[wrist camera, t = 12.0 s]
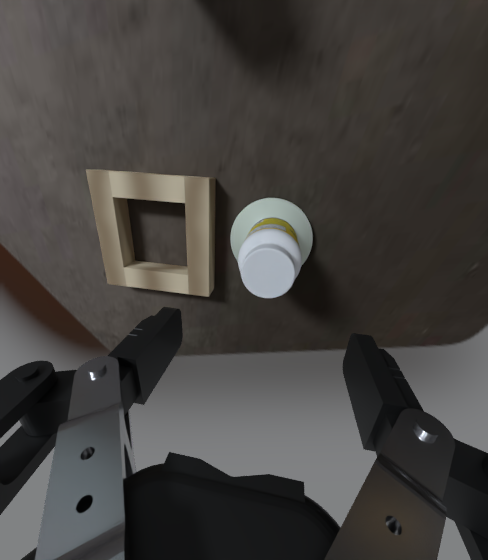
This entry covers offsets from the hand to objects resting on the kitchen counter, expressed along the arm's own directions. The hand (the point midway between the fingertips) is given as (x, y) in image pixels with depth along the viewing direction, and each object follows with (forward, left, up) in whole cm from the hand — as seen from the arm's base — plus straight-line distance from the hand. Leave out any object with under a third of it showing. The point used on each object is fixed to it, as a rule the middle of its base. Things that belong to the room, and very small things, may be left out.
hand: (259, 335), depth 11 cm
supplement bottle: (0, 0, -17) cm, 17 cm away
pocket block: (+13, 0, -17) cm, 22 cm away
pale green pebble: (0, 0, -17) cm, 17 cm away
